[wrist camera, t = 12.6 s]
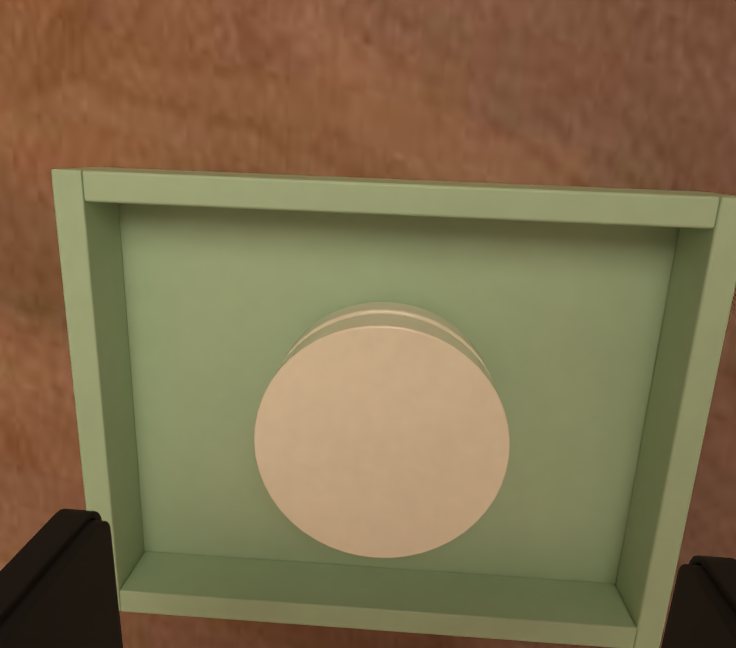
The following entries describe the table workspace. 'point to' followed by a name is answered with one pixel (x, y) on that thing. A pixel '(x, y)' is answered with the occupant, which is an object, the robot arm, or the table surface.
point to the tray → (437, 295)
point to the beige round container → (382, 432)
